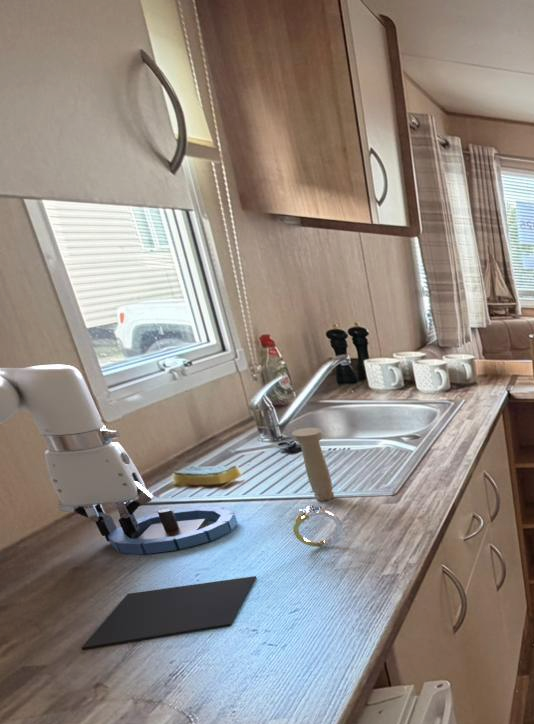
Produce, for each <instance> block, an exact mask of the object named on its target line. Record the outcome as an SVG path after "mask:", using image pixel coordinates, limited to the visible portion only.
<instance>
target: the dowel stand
mask: <svg viewBox="0 0 534 724" xmlns="http://www.w3.org/2000/svg"><path fill="white" fill-rule="evenodd" d="M173 511H174V510H173V509H172V508H170V507H169V508H168V507H167V508H162V509H159V510H158V511H157V514H158V515H159V517H160V520H161V522H162V523H158V524H151V525H150V526H149V527H148V528H147V529H146V530H145V532H143V533H141V534H140V535H139V537H137V539H156V538H164V537H172V536H177V535H181V534H184V533H188V532H192V531H196V530H200V529H202V528H204V527H206V526H208V523H209V522H208V520H206V519H196V520H187V521H176V518H175V515H174V513H173Z"/></svg>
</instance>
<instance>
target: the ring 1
mask: <svg viewBox="0 0 534 724" xmlns="http://www.w3.org/2000/svg"><path fill="white" fill-rule="evenodd" d="M173 513H174V515H175V518H176V521H187V520H196V519H206V520H207V521H215V522H213V523H211V524H209V525H207V526H206V527H204V528H202V529H200V530H196V531H192V532H188V533H184V534H181V535H177V536H172V537H164V538H156V539H138V538H129V537H127V536H126V535H125V533H124V532H123V530H122V527H121V525H119V526H118V527H117V526H116V529H115V530H114V531H113V532H112V533H111V534H110V535H108V538H109V540H110V541H109V542H110V544H111V546H112V548H113V549H115V550H116V551H117V552H119V553H121V554H129V555H130V554H133V555H145V554H146V555H151V554H158V553H164V552H172V551H177V550H183V549H187V548H190V547H194V546H198V545H201V544H205V543H209V541H211V542H212V541H213V540H216V539H218V538H221V537H222V536H224V535H226V534H228V533H231V532H232V531H233V530H234V528H235V527H236V525H237V524H238V520H237V517H236V514H235V512H234V511H232V510H230V509H228V508H226V507H222V506H221V507H220V506H197V507H187V508H186V507H185V508H178V509H174V510H173ZM136 521H137V523H138V525H139V528H140V530H139V531H138V534H137V535H136V536H139V535H142V534H143V533H144V532H145V530H146V529H147V528H148V527H149V526H150V525H151V524H158V523H162V522H161V520H160V517H159V515H158V513H153V514H150V515H145V516H144V517H139V518H136Z"/></svg>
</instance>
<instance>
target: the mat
mask: <svg viewBox="0 0 534 724" xmlns="http://www.w3.org/2000/svg"><path fill="white" fill-rule="evenodd" d="M255 579H256V580H257V575H253V576H246V577H238V578H231V579H225V580H217V581H209V582H203V583H195V584H189V585H180V586H173V587H166V588H165V587H164V588H158V589H152V590H145V591H137V592H130V593H126V595H125V596H124V598H123V599H121V601H120V602H119V603H118V604H117V605H116V607H115V608H114V609H113V610H112V611H111V612H110V614H109V615H108V616H107V617H106V619H104V621H103V622H101V624H100V625H99V627H97V629H96V630H95V631H94V632H93V633H92V635H91V636H90V637H89V638H88V639H87V640H86V641H85V643H84V644H83V645H82V646H81V650H82V651H84V650H90V649H98V648H102V647H111V646H116V645H122V644H128V642H129V643H135V642H140V641H145V640H147V641H148V640H153V639H160V638H165V637H171V636H177V635H184V634H191V633H196V632H201V631H207V630H214V629H221V628H227V627H231V626H232V625H233V623H234V622H235V619H236V617H237V615H238V614H237V613H239V612H240V610H241V608H242V606H243V604H244V603H245V600H246V599H245V598H247V597H246V596H248V595H249V593H250V591H251V589H252V588H253V585H254V584H253V583H255V582H256V580H255ZM254 581H255V582H254ZM249 590H250V591H249ZM248 592H249V593H248ZM239 609H240V610H239ZM238 611H239V612H238ZM226 626H227V627H226ZM121 643H122V644H121Z"/></svg>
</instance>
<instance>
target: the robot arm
mask: <svg viewBox="0 0 534 724" xmlns="http://www.w3.org/2000/svg"><path fill="white" fill-rule="evenodd" d="M21 410H22V411H23V410H27V411H28V412H29V413H30V415H31V418H32V419H33V421H34V424H35V426H36V428H37V430H38V432H39V435H40V436H41V438H42V440H43V442H44V444H45V446H46V448H47V450H45V451H44V458H45V463H46V468H47V473H48V476H49V478H50V481H51V485H52V487H53V489H54V492H55V493H56V496H57V497H58V506H57V507H58V510H59V511H62V512H67V513H73V514H74V513H76V514H77V515H80V516H83V517H85V518H87V519H89V521H91V522H93V523H95V525H96V527H97V529H98V531H99V533H100V535H101V537H104V538H105V540H106V541H107V542H110V540H109V538H108V535H110V534H111V533H112V532H113V531H114V530H115V529H116V528H117V525H116V524H115V521H114V519H113V517H112V516H111V515H110V514H107V513H106V511H105V509H104V507H103V504H104V505H105V504H114V505H115V508H116V510H117V511H118V514H119V517H120V518H118V523H119V526H121V527H122V530H123V532H124V533H125V535H126V536H127V537H129V538H133V539H135V537H136V536H138V535H139V534H138V531H139V530H140V528H139V525H138V523H137V521H136V520H137V518H136V517H135V514H134V513H136V510H138V508H139V507H141V506H143V505H146V504H147V503H150V502H151V501H152V500H154V498H155V497H154V495H153V494H152V493H151V492H149V490H147V488H146V484H145V481H144V480H143V478H142V476H141V474H140V472H139V470H138V469H137V467H136V465H135V464H134V462H133V460H132V459H131V457H130V456H129V454H128V453H127V451H126V450H125V449H124V447H123V446H122V444H120V442H118V441H113V440H115V439H120V437H121V435H120V433H119V431H118V430H111V429H109V428H108V427H107V425H105V423H104V421H103V418H102V417H101V415H100V412H99V410H98V408H97V406H96V404H95V401H94V399H93V397H92V394H91V392H90V390H89V387H88V385H87V383H86V381H85V379H84V377H83V375H82V373H81V372H80V370H78V369H77V368H76V367H75V366H72V365H68V364H42V365H32V366H26V367H0V425H1V424H3V423H5V422H7V421H8V420H10V419H11V418H12V417H13V416H14V415H15V413H16V412H18V411H21ZM137 534H138V535H137Z"/></svg>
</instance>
